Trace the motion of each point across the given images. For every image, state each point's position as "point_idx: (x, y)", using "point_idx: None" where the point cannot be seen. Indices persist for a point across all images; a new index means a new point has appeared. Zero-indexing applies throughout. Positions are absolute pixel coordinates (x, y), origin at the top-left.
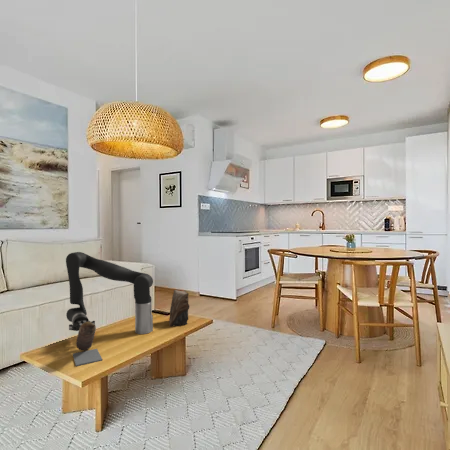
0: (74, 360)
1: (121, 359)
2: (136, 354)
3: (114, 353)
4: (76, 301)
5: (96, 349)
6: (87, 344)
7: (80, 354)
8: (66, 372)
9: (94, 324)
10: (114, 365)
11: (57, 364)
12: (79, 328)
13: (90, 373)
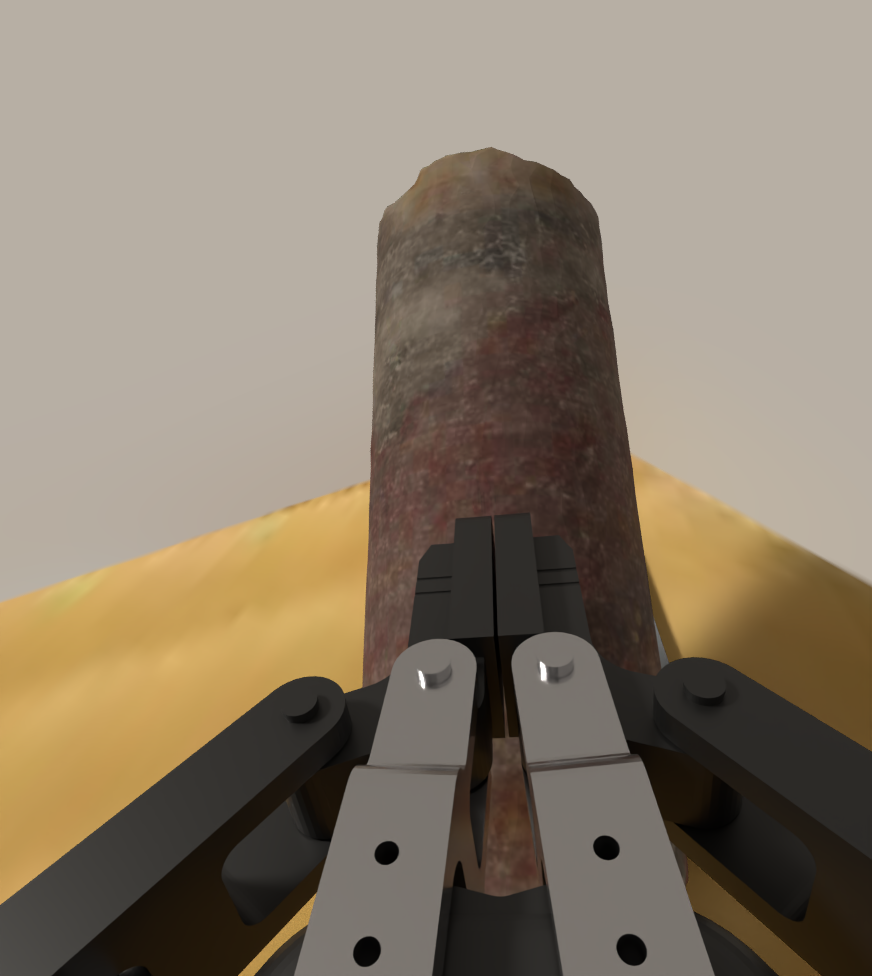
0: (658, 635)
1: (255, 543)
2: (109, 571)
3: (227, 652)
4: None
5: None
6: None
7: None
8: (697, 507)
9: (384, 213)
10: (345, 495)
11: (855, 646)
12: (592, 209)
13: None
